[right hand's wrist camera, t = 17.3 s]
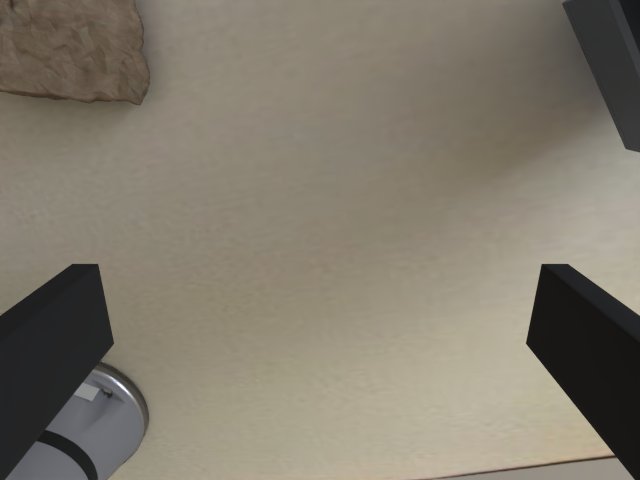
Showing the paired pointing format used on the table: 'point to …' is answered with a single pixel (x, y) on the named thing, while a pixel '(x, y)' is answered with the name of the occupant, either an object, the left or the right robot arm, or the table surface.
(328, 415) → the table surface
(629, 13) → the grey box
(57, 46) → the stone
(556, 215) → the table surface
